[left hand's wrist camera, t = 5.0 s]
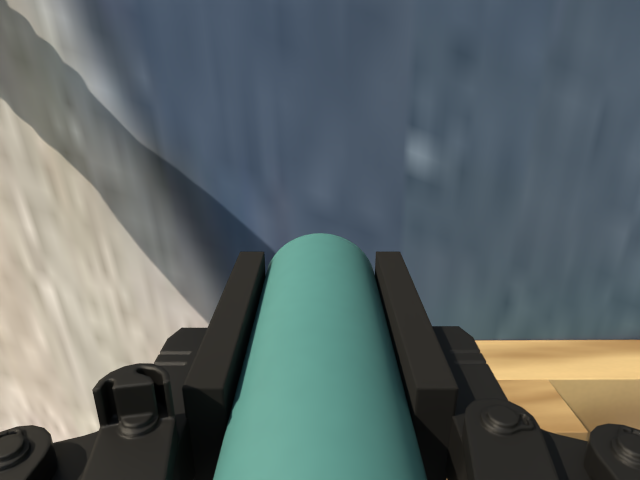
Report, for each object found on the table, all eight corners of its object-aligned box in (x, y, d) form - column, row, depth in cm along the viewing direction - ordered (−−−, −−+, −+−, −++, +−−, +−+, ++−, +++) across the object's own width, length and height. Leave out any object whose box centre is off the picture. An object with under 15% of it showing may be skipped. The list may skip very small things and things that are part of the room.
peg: (263, 232, 14) (158, 543, 5) (377, 232, 14) (481, 542, 5) (267, 331, 16) (191, 722, 6) (372, 331, 16) (449, 723, 6)
